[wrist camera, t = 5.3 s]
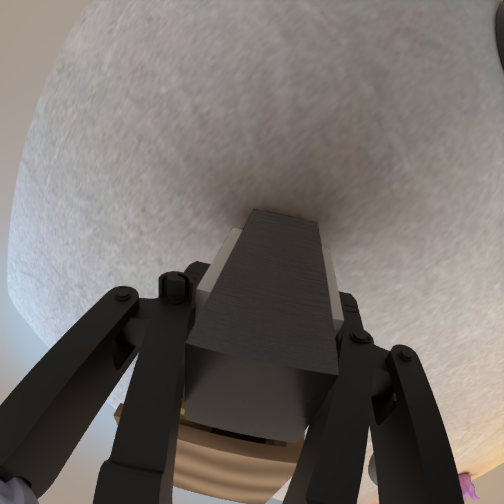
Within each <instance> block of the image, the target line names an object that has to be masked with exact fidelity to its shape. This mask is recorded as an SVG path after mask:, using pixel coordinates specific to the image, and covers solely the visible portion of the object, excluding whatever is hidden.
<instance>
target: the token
mask: <svg viewBox="0 0 504 504" xmlns="http://www.w3.org/2000/svg"><path fill="white" fill-rule="evenodd" d="M179 424H181V425H184V426H188V427H191V428H195V429H198V430H202V431H206V432H209V433H211V430H212V427H210V426H206V425H203V424H199V423H195V422H192V421H189V420H185V398H183V397H182V405H181V413H180V421H179Z"/></svg>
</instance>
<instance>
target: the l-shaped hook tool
mask: <svg viewBox="0 0 504 504" xmlns="http://www.w3.org/2000/svg"><path fill="white" fill-rule="evenodd" d="M338 376H339V369H338V359H337V350H336V341H335V332H334V324H333V317H332V309H331V302H330V295H329V288H328V282H327V275H326V269H325V263H324V257H323V251H322V245H321V240H320V234H319V229H318V223H317V222H312V221H308V220H304V219H299V218H295V217H290V216H285V215H281V214H276V213H271V212H267V211H262V210H257V209H253V211H252V213H251V215H250V217H249V219H248V220H247V222H246V224H245V226H244V228H243V230H242V232H241V234H240V236H239V238H238V240H237V242H236V244H235V246H234V248H233V249H232V251H231V253H230V255H229V257H228V259H227V261H226V263H225V265H224V267H223V269H222V271H221V273H220V275H219V277H218V279H217V281H216V283H215V285H214V287H213V289H212V291H211V293H210V295H209V297H208V299H207V301H206V303H205V305H204V307H203V309H202V311H201V313H200V315H199V317H198V319H197V321H196V323H195V325H194V327H193V329H192V331H191V333H190V335H189V337H188V339H187V341H186V343H185V420H189V421H192V422H195V423H199V424H203V425H206V426H210V427H214V428H218V429H222V430H227V431H231V432H235V433H240V434H245V435H250V436H255V437H261V438H266V439H272V440H279V441H286V442H293V443H297V442H298V440H299V439H300V437H301V436H302V434H303V433H304V431H305V430H306V428H307V427H308V425H309V424H310V422H311V421H312V419H313V418H314V416H315V415H316V413H317V411H318V410H319V408H320V407H321V405H322V403H323V402H324V400H325V398H326V397H327V395H328V393H329V392H330V390H331V388H332V387H333V385H334V383H335V381H336V380H337V378H338Z"/></svg>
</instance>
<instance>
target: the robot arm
mask: <svg viewBox="0 0 504 504" xmlns="http://www.w3.org/2000/svg"><path fill="white" fill-rule="evenodd" d="M496 33H497V41H498V47H499V52H500V56H501V60H502V63H503V67H504V1H503V2H502V3H501V5H500V6H499V9H498V12H497V17H496ZM241 232H242V229H237V228H233V229H232V230H231V232H230V234H229V235H228V237H227V239H226V240H225V242H224V243H223V245H222V247H221V248H220V250H219V252H218V253H217V255H216V257H215V258H214V260H213V262H212V263H211V264H207V263H203V262H198V261H196V262H194V263H192V264H190V265H189V266H188V267H187V269H186V270H185V272H184V273H183V272H178V271H171V272H166V273H164V274H162V275H161V276H160V277H159V297H158V298H155V299H148V298H139V294H138V292H137V291H136V289H134V288H132V287H128V286H118V287H115V288H113V289H111V290H110V291H108V292H107V293H106V294H105V295H104V296H103V297H102V298H101V299H100V300H99V301H98V302H97V303H96V304H95V305H94V306H93V307H92V308H91V309H90V310H88V311H87V312H86V313H85V314H84V315H83V316H82V317H81V318H80V319H79V320H78V321H77V322H76V323H75V324H74V325H73V326H72V327H71V328H70V329H69V330H68V331H67V332H66V333H65V334H64V335H63V336H62V337H61V339H60V340H59V341H58V342H57V343H56V344H55V345H54V346H53V347H52V348H51V349H50V350H49V351H48V352H47V353H46V354H45V355H44V356H43V358H42V359H41V360H40V361H39V362H38V363H37V364H36V365H35V366H34V367H33V368H32V369H31V371H30V372H29V373H28V374H27V375H26V376H25V377H24V378H23V380H22V381H21V382H20V383H19V384H18V385H17V387H16V388H15V389H14V390H13V391H12V392H11V393H10V395H9V396H8V397H7V398H6V399H5V400H4V402H3V403H2V404H1V405H0V504H39V502H38V498H39V497H41V496H42V495H43V494H44V493H45V492H46V491H47V490H48V489H49V487H50V486H51V485H52V483H53V482H54V481H55V479H56V478H57V476H58V475H59V473H60V471H61V470H62V468H63V466H64V465H65V463H66V462H67V460H68V458H69V457H70V455H71V454H72V452H73V450H74V449H75V447H76V446H77V444H78V442H79V441H80V439H81V438H82V436H83V435H84V433H85V432H86V430H87V428H88V427H89V425H90V424H91V422H92V420H93V419H94V418H95V416H96V415H97V413H98V412H99V410H100V408H101V407H102V406H103V404H104V403H105V401H106V400H107V398H108V397H109V395H110V394H111V392H112V391H113V389H114V388H115V386H116V385H117V383H118V382H119V380H120V379H121V377H122V376H123V374H124V373H125V371H126V370H127V369H128V367H129V366H130V364H131V363H132V361H133V360H134V358H135V357H136V356H137V354H138V353H139V355H138V358H137V361H136V364H135V367H134V371H133V374H132V377H131V381H130V384H129V387H128V391H127V394H126V398H125V401H124V405H123V409H122V412H121V416H120V420H119V423H118V428H117V431H116V435H115V439H114V443H113V448H112V452H111V455H110V457H109V459H108V460H106V461H104V463H103V464H102V466H101V468H100V472H99V475H98V480H97V485H96V489H95V494H94V500H93V504H172V488H173V477H174V467H175V457H176V447H177V438H178V429H179V421H180V413H181V405H182V397H183V390H184V382H185V343H186V341H187V339H188V337H189V335H190V333H191V331H192V329H193V327H194V325H195V323H196V321H197V319H198V317H199V315H200V313H201V311H202V309H203V307H204V305H205V303H206V301H207V299H208V297H209V295H210V293H211V291H212V289H213V287H214V285H215V283H216V281H217V279H218V277H219V275H220V273H221V271H222V269H223V267H224V265H225V263H226V261H227V259H228V257H229V255H230V253H231V251H232V249H233V248H234V246H235V244H236V242H237V240H238V238H239V236H240V234H241ZM322 251H323V257H324V263H325V269H326V275H327V282H328V288H329V295H330V302H331V309H332V317H333V324H334V332H335V341H336V350H337V359H338V369H339V376H338V378H337V380H336V381H335V383H334V385H333V387H332V388H331V390H330V392H329V393H328V395H327V397H326V398H325V400H324V402H323V403H322V405H321V407H320V408H319V410H318V411H317V413H316V415H315V416H314V418H313V419H312V421H311V422H310V424H309V427H308V431H307V434H306V437H305V440H304V444H303V447H302V450H301V453H300V456H299V459H298V462H297V465H296V468H295V471H294V474H293V477H292V479H291V482H290V485H289V488H288V490H287V493H286V496H285V498H284V501H283V503H282V504H357V498H358V493H359V488H360V483H361V478H362V472H363V466H364V460H365V453H366V446H367V438H368V430H369V425H370V431H371V438H372V444H373V451H374V459H375V467H376V475H377V484H378V494H379V504H464V499H463V494H462V490H461V485H460V481H459V477H458V473H457V469H456V465H455V461H454V457H453V454H452V450H451V447H450V443H449V440H448V437H447V433H446V430H445V427H444V424H443V421H442V418H441V415H440V412H439V409H438V406H437V403H436V401H435V398H434V395H433V392H432V390H431V387H430V385H429V382H428V379H427V377H426V374H425V372H424V369H423V367H422V364H421V362H420V360H419V357H418V355H417V354H416V352H415V351H414V350H412V349H411V348H410V347H408V346H405V345H395V346H393V347H392V349H391V351H388V350H385V349H383V348H380V347H378V346H376V345H374V341H373V338H372V336H371V335H370V334H369V333H368V332H367V331H365V330H364V328H363V324H362V320H361V317H360V314H359V309H358V305H357V301H356V300H355V298H354V297H353V296H352V295H351V294H349V293H344V292H339V291H338V286H337V281H336V276H335V272H334V267H333V262H332V258H331V253H330V249H329V248H325V247H322ZM139 351H140V352H139Z"/></svg>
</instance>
